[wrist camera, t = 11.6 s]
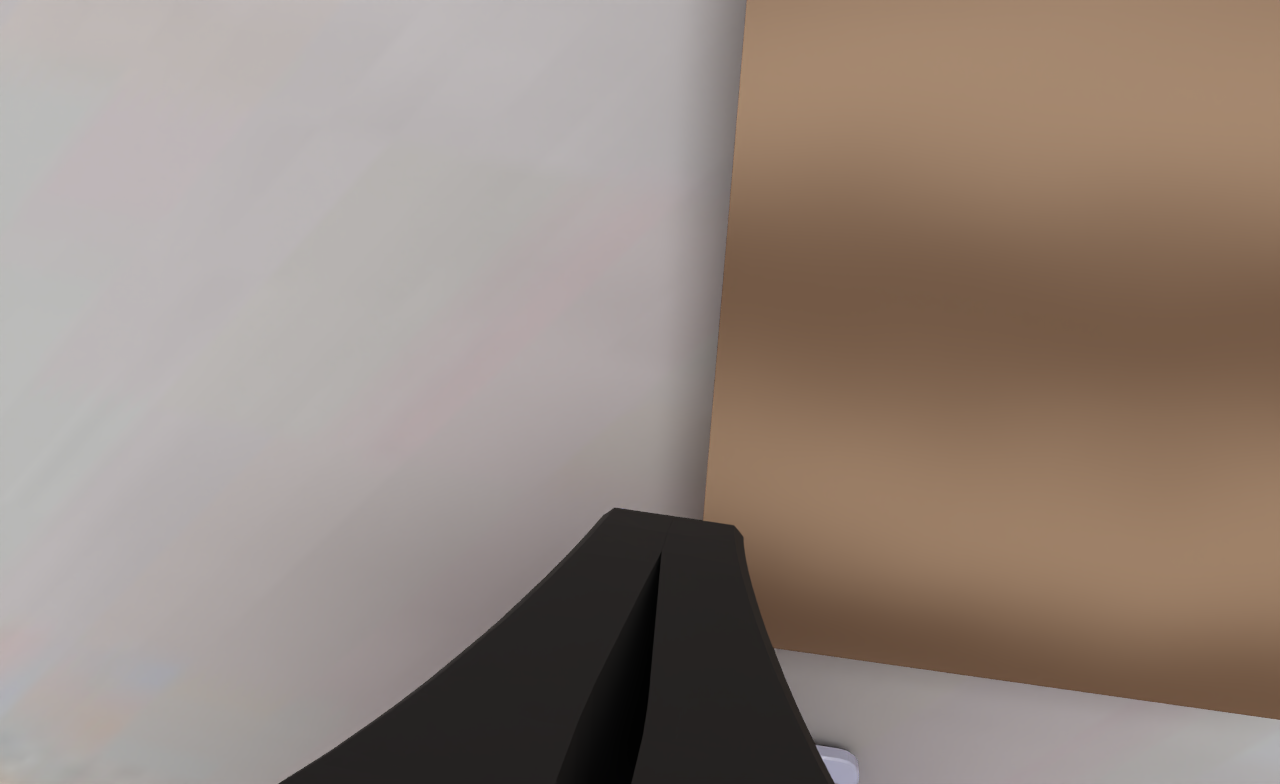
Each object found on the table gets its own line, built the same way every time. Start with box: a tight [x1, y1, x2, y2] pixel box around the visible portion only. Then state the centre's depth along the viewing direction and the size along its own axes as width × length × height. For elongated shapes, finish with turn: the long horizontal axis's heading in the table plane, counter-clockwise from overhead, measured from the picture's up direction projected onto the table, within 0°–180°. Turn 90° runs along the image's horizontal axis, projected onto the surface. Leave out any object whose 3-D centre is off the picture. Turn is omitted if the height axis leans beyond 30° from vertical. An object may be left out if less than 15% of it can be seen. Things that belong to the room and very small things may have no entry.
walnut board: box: [703, 0, 1280, 720], centre depth 14 cm, size 13×12×3 cm
